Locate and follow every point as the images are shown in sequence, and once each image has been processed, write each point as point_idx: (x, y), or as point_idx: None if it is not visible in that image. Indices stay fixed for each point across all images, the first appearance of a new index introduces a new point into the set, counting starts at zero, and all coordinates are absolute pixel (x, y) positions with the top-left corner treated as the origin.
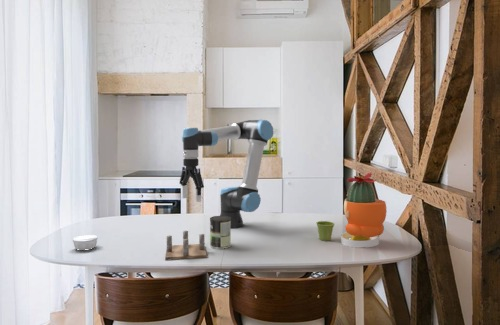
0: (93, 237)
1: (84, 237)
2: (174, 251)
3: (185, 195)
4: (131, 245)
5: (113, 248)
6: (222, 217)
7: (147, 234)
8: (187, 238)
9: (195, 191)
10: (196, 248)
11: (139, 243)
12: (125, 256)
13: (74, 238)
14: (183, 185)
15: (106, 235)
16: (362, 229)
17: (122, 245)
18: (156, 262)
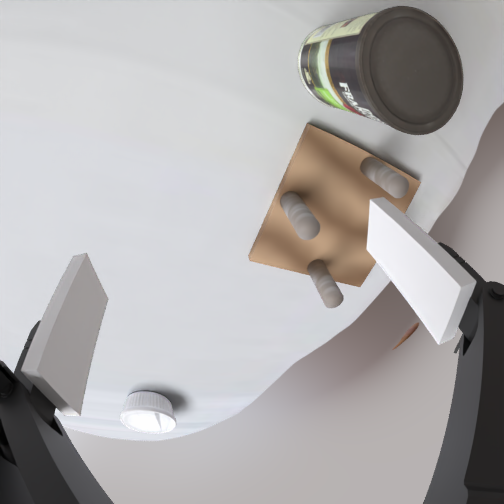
0: (150, 415)
1: (144, 423)
2: (330, 254)
3: (88, 292)
4: (161, 335)
5: (174, 368)
6: (407, 45)
7: (39, 275)
8: (309, 209)
9: (421, 320)
10: (348, 179)
11: (147, 316)
12: (263, 353)
13: (147, 432)
14: (52, 406)
15: None
16: None
17: (152, 352)
18: (357, 302)
